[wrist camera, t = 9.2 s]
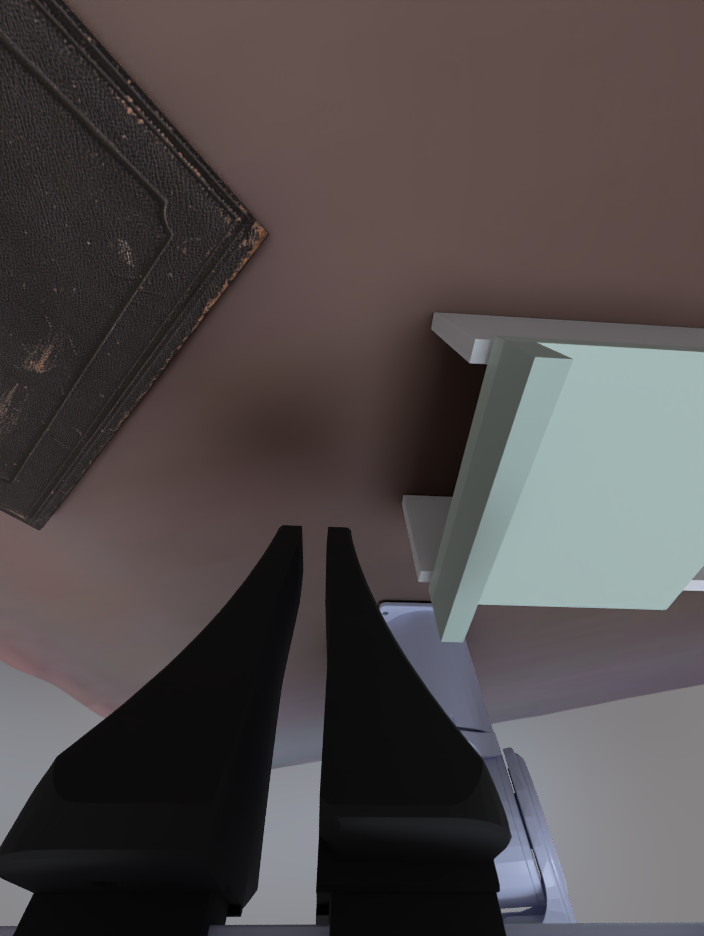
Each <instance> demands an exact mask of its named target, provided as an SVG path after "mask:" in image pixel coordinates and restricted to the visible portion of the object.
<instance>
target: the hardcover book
mask: <svg viewBox="0 0 704 936" xmlns="http://www.w3.org/2000/svg"><path fill="white" fill-rule="evenodd" d="M268 235H269V233H268V232H267V231H266V230H265V229H264V227H263V226H262V225H261V224H260V223H259V222H258V221H257V219H256V218H255V217H254V216H253V215H252V214H251V213H250V212H249V210H248V209H247V208H246V207H245V206H244V205H243V204H242V203H241V201H240V200H239V199H238V198H237V197H236V196H235V195H234V194H233V192H232V191H231V190H230V189H229V188H228V187H227V186H226V185H225V183H224V182H223V181H222V180H221V179H220V178H219V177H218V175H217V174H216V173H215V172H214V171H213V170H212V169H211V168H210V166H209V165H208V164H207V163H206V162H205V161H204V160H203V159H202V157H201V156H200V155H199V154H198V153H197V152H196V151H195V150H194V148H193V147H192V146H191V145H190V144H189V143H188V142H187V141H186V139H185V138H184V137H183V136H182V135H181V134H180V133H179V131H178V130H177V129H176V128H175V127H174V126H173V125H172V124H171V122H170V121H169V120H168V119H167V118H166V117H165V116H164V115H163V113H162V112H161V111H160V110H159V109H158V108H157V107H156V106H155V104H154V103H153V102H152V101H151V100H150V99H149V98H148V97H147V95H146V94H145V93H144V92H143V91H142V90H141V89H140V87H139V86H138V85H137V84H136V83H135V82H134V81H133V80H132V78H131V77H130V76H129V75H128V74H127V73H126V72H125V71H124V69H123V68H122V67H121V66H120V65H119V64H118V63H117V62H116V60H115V59H114V58H113V57H112V56H111V55H110V54H109V53H108V51H107V50H106V49H105V48H104V47H103V46H102V45H101V43H100V42H99V41H98V40H97V39H96V38H95V37H94V36H93V34H92V33H91V32H90V31H89V30H88V29H87V28H86V27H85V25H84V24H83V23H82V22H81V21H80V20H79V19H78V18H77V16H76V15H75V14H74V13H73V12H72V11H71V10H70V9H69V7H68V6H67V5H66V4H65V3H64V2H63V1H62V0H0V510H1V511H3V512H5V513H7V514H9V515H10V516H12V517H14V518H16V519H18V520H20V521H22V522H24V523H26V524H28V525H30V526H32V527H33V528H35V529H37V530H41V529H42V528H43V527H44V525H45V524H46V523H47V521H48V520H49V519H50V518H51V516H52V515H53V514H54V512H55V511H56V510H57V508H58V507H59V506H60V505H61V503H62V502H63V501H64V499H65V498H66V497H67V495H68V494H69V493H70V492H71V490H72V489H73V488H74V486H75V485H76V484H77V483H78V481H79V480H80V479H81V477H82V476H83V475H84V473H85V472H86V471H87V470H88V468H89V467H90V466H91V464H92V463H93V462H94V460H95V459H96V458H97V457H98V455H99V454H100V453H101V451H102V450H103V449H104V448H105V446H106V445H107V444H108V442H109V441H110V440H111V438H112V437H113V436H114V435H115V433H116V432H117V431H118V429H119V428H120V427H121V426H122V424H123V423H124V422H125V420H126V419H127V418H128V416H129V415H130V414H131V413H132V411H133V410H134V409H135V407H136V406H137V405H138V403H139V402H140V401H141V400H142V398H143V397H144V396H145V394H146V393H147V392H148V391H149V389H150V388H151V387H152V385H153V384H154V383H155V381H156V380H157V379H158V378H159V376H160V375H161V374H162V372H163V371H164V370H165V368H166V367H167V366H168V365H169V363H170V362H171V361H172V359H173V358H174V357H175V356H176V354H177V353H178V352H179V350H180V349H181V348H182V346H183V345H184V344H185V343H186V341H187V340H188V339H189V337H190V336H191V335H192V333H193V332H194V331H195V330H196V328H197V327H198V326H199V324H200V323H201V322H202V321H203V319H204V318H205V317H206V315H207V314H208V313H209V311H210V310H211V309H212V308H213V306H214V305H215V304H216V302H217V301H218V300H219V299H220V297H221V296H222V295H223V293H224V292H225V291H226V289H227V288H228V287H229V286H230V284H231V283H232V282H233V280H234V279H235V278H236V276H237V275H238V274H239V273H240V271H241V270H242V269H243V267H244V266H245V265H246V264H247V262H248V261H249V260H250V258H251V257H252V256H253V254H254V253H255V252H256V251H257V249H258V248H259V247H260V245H261V244H262V243H263V241H264V240H265V239H266V238H267V236H268Z"/></svg>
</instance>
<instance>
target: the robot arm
mask: <svg viewBox="0 0 704 936" xmlns="http://www.w3.org/2000/svg"><path fill="white" fill-rule="evenodd" d="M302 578H303V544H302V526H289V525H282V526H281V527H280V528H279V529H278V531H277V533H276V535H275V537H274V538H273V540H272V542H271V543H270V545H269V547H268V548H267V550H266V551H265V553H264V554H263V556H262V557H261V559H260V560H259V562H258V563H257V565H256V566H255V567H254V569H253V570H252V572H251V573H250V574H249V576H248V577H247V578H246V580H245V581H244V582H243V584H242V585H241V586H240V587H239V589H238V590H237V591H236V592H235V594H234V595H233V596H232V597H231V599H230V600H229V601H228V602H227V604H226V605H225V606H224V607H223V608H222V609H221V611H220V612H219V613H218V614H217V615H216V616H215V617H214V619H213V620H212V621H211V622H210V623H209V624H208V625H207V626H206V627H205V628H204V629H203V630H202V632H201V633H200V634H199V635H198V636H197V637H196V638H195V639H194V640H193V641H192V642H191V643H190V644H189V645H188V646H187V647H186V648H185V649H184V650H183V651H182V652H181V653H180V654H179V655H178V656H177V657H176V658H174V659H173V660H172V661H171V662H170V663H169V664H168V665H167V666H166V667H165V668H164V669H163V670H162V671H160V672H159V673H158V674H157V675H156V676H155V677H154V678H153V679H151V680H150V681H149V682H148V683H147V684H146V685H145V686H143V687H142V688H141V689H140V690H139V691H138V692H137V693H135V694H134V695H133V696H132V697H131V698H130V699H129V700H127V701H126V702H125V703H124V704H123V705H121V706H120V707H119V708H118V709H117V710H115V711H114V712H113V713H112V714H110V715H109V716H108V717H107V718H105V719H104V720H103V721H102V722H100V723H99V724H98V725H96V726H95V727H94V728H93V729H92V730H90V731H89V732H88V733H86V734H85V735H84V736H83V737H81V738H80V739H79V740H78V741H76V742H75V743H74V744H72V745H71V746H70V747H69V748H67V749H66V750H65V751H63V752H62V753H61V754H60V755H58V756H57V757H56V759H55V760H54V762H53V763H52V765H51V766H50V768H49V770H48V771H47V772H46V774H45V775H44V776H43V778H42V779H41V781H40V782H39V784H38V785H37V786H36V788H35V790H34V791H33V793H32V794H31V796H30V797H29V799H28V801H27V802H26V804H25V806H24V808H23V809H22V811H21V813H20V814H19V816H18V818H17V819H16V821H15V823H14V825H13V826H12V828H11V829H10V831H9V833H8V835H7V836H6V838H5V840H4V841H3V843H2V845H1V846H0V877H1V878H2V879H4V880H6V881H9V882H11V883H13V884H15V885H17V886H20V887H22V888H24V889H27V890H29V891H31V892H33V893H34V894H33V896H32V898H31V900H30V902H29V904H28V906H27V908H26V910H25V912H24V914H23V916H22V918H21V920H20V922H19V924H18V926H0V936H704V923H577V921H576V918H575V915H574V912H573V909H572V906H571V903H570V900H569V897H568V894H567V890H568V888H567V884H566V880H565V877H564V873H563V870H562V867H561V864H560V861H559V858H558V855H557V852H556V849H555V845H554V842H553V840H552V836H551V834H550V831H549V828H548V825H547V822H546V819H545V816H544V813H543V810H542V807H541V805H540V802H539V799H538V796H537V793H536V790H535V788H534V785H533V782H532V779H531V776H530V774H529V771H528V769H527V766H526V764H525V761H524V759H523V758H522V757H521V756H519V755H518V754H517V753H514V751H513V749H512V748H506V749H503V751H504V754H505V758H506V761H507V764H508V767H509V768H508V771H509V775H510V778H511V780H512V784H513V787H514V791H515V793H513V790H512V786H511V783H510V780H509V776H508V773H507V770H506V767H505V764H504V760H503V757H502V754H501V751H500V747H499V744H498V741H497V739H496V735H495V733H494V732H493V729H492V725H491V722H490V719H489V715H488V712H487V709H486V706H485V702H484V699H483V696H482V692H481V689H480V686H479V683H478V679H477V676H476V673H475V669H474V666H473V663H472V660H471V656H470V653H469V650H468V646H467V643H466V640H465V639H464V641H463V642H441V640H440V636H439V632H438V627H437V623H436V619H435V615H434V611H433V606H432V603H400V602H383V603H381V604H380V606H379V608H378V606H377V604H376V602H375V600H374V598H373V595H372V593H371V591H370V589H369V587H368V584H367V582H366V579H365V577H364V574H363V572H362V569H361V567H360V564H359V561H358V558H357V555H356V552H355V548H354V545H353V541H352V536H351V530H350V529H349V528H343V527H328V536H327V555H326V598H325V606H326V640H327V680H326V698H325V715H324V732H323V749H322V766H321V783H320V813H319V847H318V867H317V886H316V893H317V908H316V925H225V922H226V917H240V916H241V914H242V909H243V908H244V907H245V905H246V904H247V903H248V902H249V900H250V899H251V898H252V896H253V895H254V894H255V892H256V891H257V888H258V879H259V869H260V861H261V852H262V842H263V834H264V825H265V816H266V808H267V799H268V791H269V782H270V774H271V766H272V758H273V750H274V742H275V734H276V726H277V718H278V711H279V703H280V696H281V689H282V683H283V678H284V672H285V668H286V663H287V659H288V654H289V649H290V645H291V640H292V636H293V631H294V627H295V622H296V617H297V613H298V608H299V603H300V596H301V587H302ZM474 614H475V613H474ZM472 619H473V618H472ZM467 632H468V631H467ZM465 637H466V636H465ZM531 849H533V852H534V855H535V858H536V862H537V865H538V868H539V871H540V875H541V881H540V877H539V874H538V871H537V868H536V864H535V861H534V858H533V854H532V851H531ZM515 907H516V908H517V907H531V908H529V909H526V910H524V911H521V912H507V913H501V910H500V909H503V908H515Z"/></svg>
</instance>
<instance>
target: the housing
mask: <svg viewBox="0 0 704 936" xmlns="http://www.w3.org/2000/svg"><path fill="white" fill-rule="evenodd" d="M431 330H432V331H434V332H435V333H436V334H437V335H438V336H439V337H440V338H441V339H443V340H444V341H445V342H446V343H447V344H448V345H449V346H451V347H452V348H453V349H454V350H455V351H456V352H457V353H458V354H460V355H461V356H462V357H463V358H464V359H465V360H466V361H468V362H469V363H472V364H488V360H489V356H490V353H491V349H492V345H493V341H494V337H495V335H496V336H513V337H530V338H548V339H565V340H582V341H599V342H616V343H633V344H650V345H667V346H684V347H702V348H704V328H687V327H671V326H654V325H638V324H621V323H605V322H588V321H572V320H555V319H539V318H522V317H506V316H489V315H473V314H456V313H440V312H434V315H433V321H432V327H431ZM452 498H453V497H442V496H418V495H403V500H402V508H403V512H404V517H405V522H406V526H407V531H408V536H409V540H410V545H411V550H412V554H413V559H414V564H415V568H416V573H417V578H418V582H431V578H432V574H433V570H434V566H435V563H436V559H437V555H438V551H439V547H440V544H441V540H442V536H443V532H444V528H445V524H446V521H447V517H448V513H449V509H450V505H451V502H452ZM683 590H692V591H704V566H703V567H702V568H701V570H700V571H699V572H698V573H697V574H696V575H695V577H694V578H693V579H692V580H691V581H690V582H689V584H688V585H687V586H686V587H685V588H684V589H683Z"/></svg>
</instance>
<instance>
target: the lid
mask: <svg viewBox="0 0 704 936" xmlns="http://www.w3.org/2000/svg"><path fill="white" fill-rule="evenodd" d="M703 566H704V348H702V347H684V346H667V345H650V344H633V343H616V342H599V341H582V340H565V339H548V338H530V337H513V336H496V335H495V337H494V341H493V345H492V349H491V353H490V356H489V360H488V364H487V368H486V372H485V375H484V379H483V383H482V387H481V391H480V395H479V398H478V402H477V406H476V410H475V414H474V417H473V421H472V425H471V429H470V433H469V437H468V440H467V444H466V448H465V452H464V456H463V459H462V463H461V467H460V471H459V475H458V479H457V482H456V486H455V490H454V494H453V498H452V502H451V505H450V509H449V513H448V517H447V521H446V524H445V528H444V532H443V536H442V540H441V544H440V547H439V551H438V555H437V559H436V563H435V566H434V570H433V574H432V578H431V582H430V586H429V589H428V590H429V594H430V598H431V602H432V606H433V611H434V615H435V619H436V623H437V627H438V632H439V636H440V640H441V642H463V641H464V639H465V636H466V634H467V631H468V629H469V626H470V624H471V621H472V618H473V616H474V613H475V611H476V608H477V606H478V604H484V605H518V606H552V607H586V608H621V609H655V610H666V609H667V608H668V607H669V606H670V605H671V604H672V602H673V601H674V600H675V599H676V598H677V596H678V595H679V594H680V593H681V592H682V591H683V589H684V588H685V587H686V586H687V585H688V584H689V582H690V581H691V580H692V579H693V578H694V577H695V575H696V574H697V573H698V572H699V571H700V570H701V568H702V567H703Z"/></svg>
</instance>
